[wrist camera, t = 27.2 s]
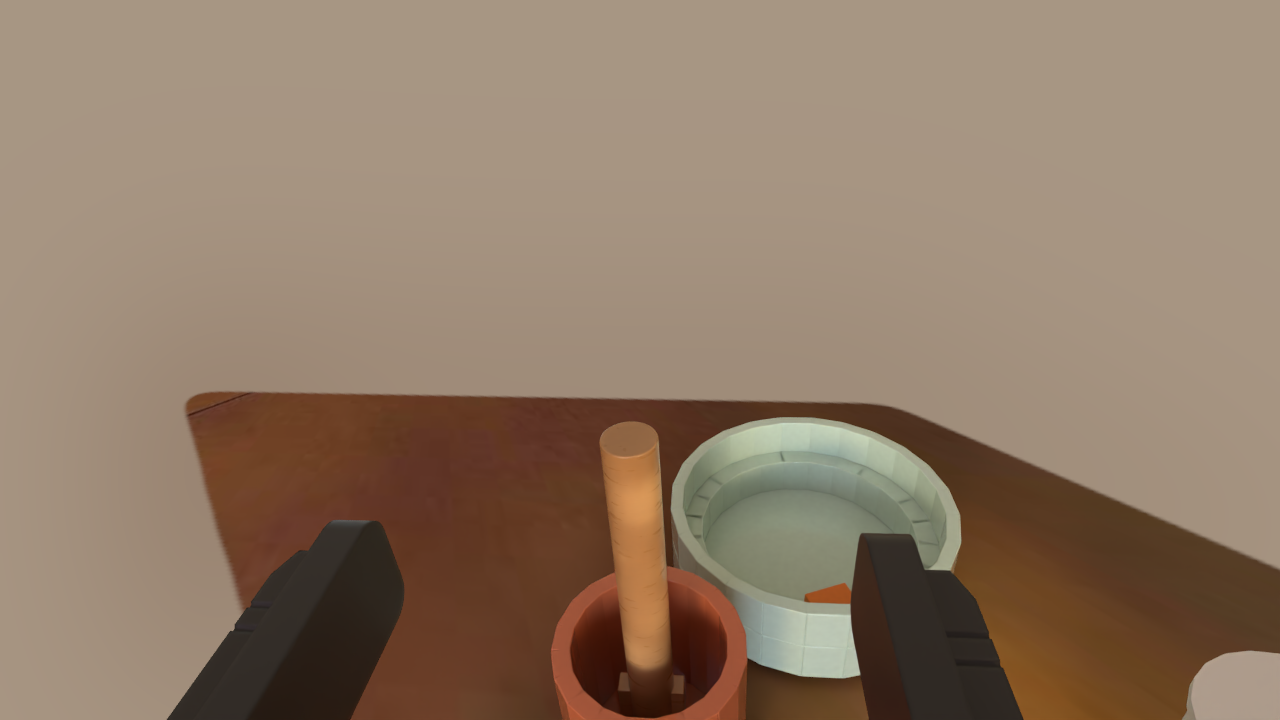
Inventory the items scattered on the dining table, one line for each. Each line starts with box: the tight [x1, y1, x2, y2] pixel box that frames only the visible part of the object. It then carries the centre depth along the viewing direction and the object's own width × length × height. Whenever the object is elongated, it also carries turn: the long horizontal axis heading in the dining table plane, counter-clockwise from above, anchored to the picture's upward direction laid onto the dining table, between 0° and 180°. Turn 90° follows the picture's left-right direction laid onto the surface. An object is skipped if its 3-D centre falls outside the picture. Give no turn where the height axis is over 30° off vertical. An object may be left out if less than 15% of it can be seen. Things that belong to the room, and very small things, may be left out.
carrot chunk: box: [804, 583, 851, 604], centre depth 40 cm, size 3×3×1 cm
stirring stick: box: [600, 422, 686, 718], centre depth 30 cm, size 3×2×20 cm
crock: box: [551, 566, 747, 720], centre depth 33 cm, size 9×9×9 cm
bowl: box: [671, 417, 961, 678], centre depth 44 cm, size 18×18×6 cm
